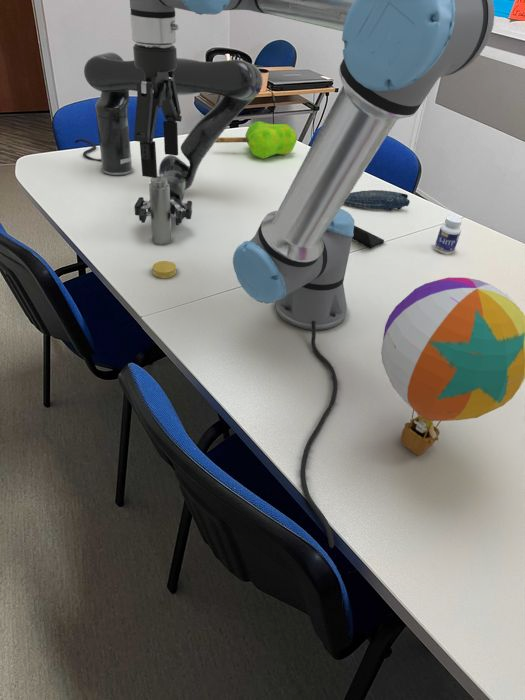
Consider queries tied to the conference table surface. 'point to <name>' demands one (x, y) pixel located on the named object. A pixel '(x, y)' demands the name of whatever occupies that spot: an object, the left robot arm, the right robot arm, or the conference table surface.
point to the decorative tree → (267, 139)
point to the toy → (453, 354)
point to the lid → (164, 269)
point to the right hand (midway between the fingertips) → (161, 165)
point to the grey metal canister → (160, 210)
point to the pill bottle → (448, 235)
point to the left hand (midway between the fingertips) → (159, 220)
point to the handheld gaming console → (366, 238)
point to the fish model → (378, 199)
